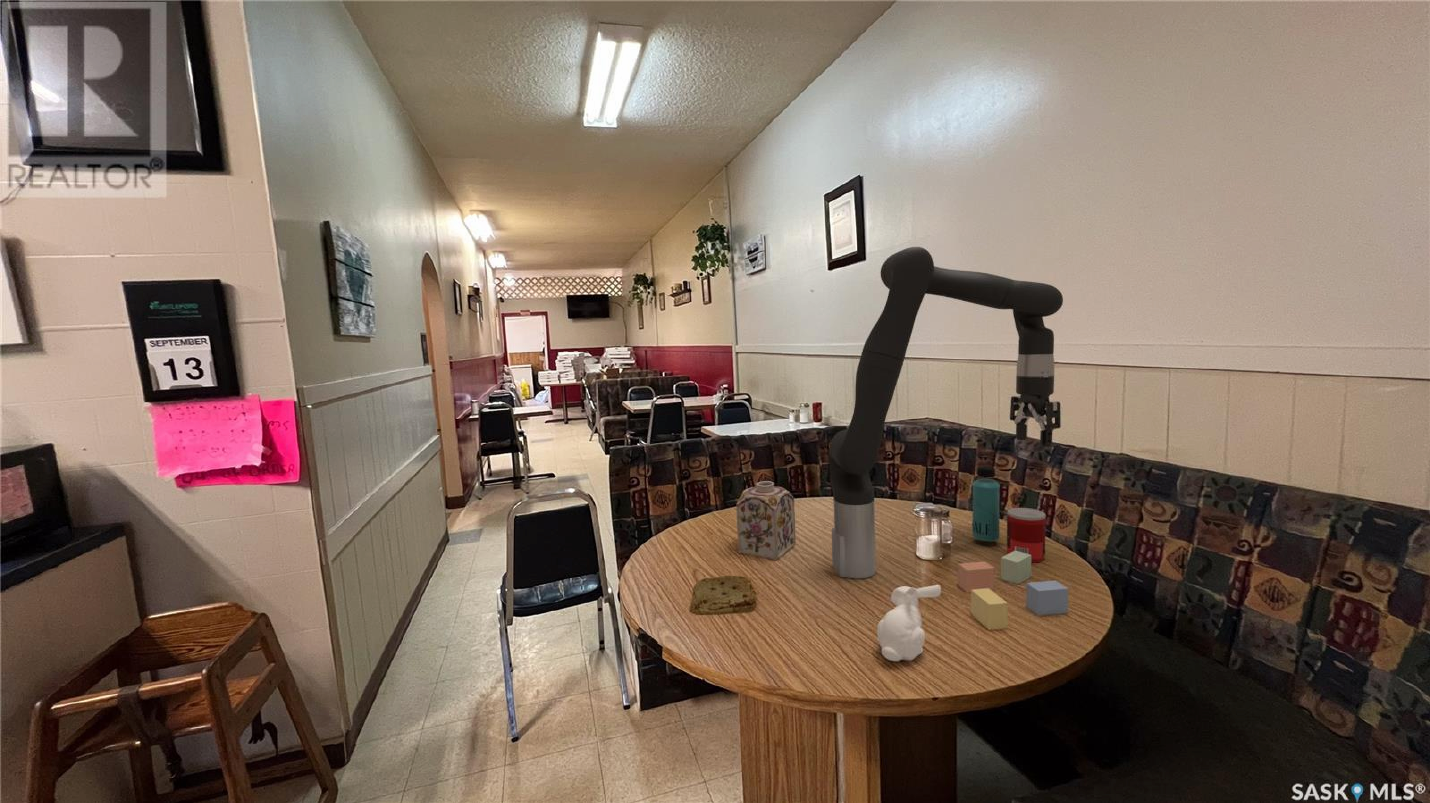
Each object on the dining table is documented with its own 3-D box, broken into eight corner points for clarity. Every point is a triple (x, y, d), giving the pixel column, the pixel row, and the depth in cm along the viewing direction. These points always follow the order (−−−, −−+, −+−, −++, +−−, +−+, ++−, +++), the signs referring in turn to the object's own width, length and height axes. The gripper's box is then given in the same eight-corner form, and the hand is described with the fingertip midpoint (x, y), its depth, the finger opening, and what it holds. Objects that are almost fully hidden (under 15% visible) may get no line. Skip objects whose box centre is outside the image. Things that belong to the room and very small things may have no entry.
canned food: (1052, 562, 126) (1052, 516, 124) (1017, 563, 126) (1017, 518, 125) (1033, 549, 133) (1034, 506, 132) (1000, 551, 133) (1001, 508, 132)
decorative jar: (797, 545, 144) (794, 479, 142) (778, 561, 134) (775, 491, 132) (757, 538, 150) (754, 475, 148) (736, 553, 141) (733, 486, 139)
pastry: (722, 575, 129) (722, 563, 128) (779, 597, 116) (779, 584, 116) (667, 602, 117) (666, 589, 116) (723, 629, 104) (723, 615, 104)
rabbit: (892, 628, 101) (892, 567, 100) (945, 643, 95) (945, 579, 94) (867, 660, 92) (866, 593, 90) (924, 679, 86) (923, 608, 84)
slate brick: (1038, 615, 103) (1038, 590, 102) (1026, 606, 106) (1026, 582, 106) (1067, 613, 103) (1068, 588, 103) (1055, 604, 107) (1055, 580, 106)
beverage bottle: (997, 538, 141) (998, 464, 139) (1002, 548, 135) (1002, 470, 133) (970, 537, 143) (970, 463, 141) (973, 546, 137) (973, 469, 135)
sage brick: (1017, 584, 116) (1017, 562, 115) (1001, 579, 119) (1001, 557, 118) (1031, 576, 119) (1031, 554, 119) (1015, 571, 122) (1015, 550, 122)
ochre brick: (1007, 628, 99) (1007, 602, 99) (989, 630, 99) (989, 604, 98) (988, 612, 105) (988, 588, 105) (971, 613, 105) (971, 589, 104)
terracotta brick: (966, 592, 113) (966, 570, 113) (958, 585, 117) (958, 563, 116) (994, 590, 114) (994, 568, 113) (984, 583, 117) (984, 561, 117)
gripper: (1000, 372, 131) (999, 438, 133) (1040, 376, 117) (1038, 449, 119) (1030, 371, 131) (1028, 437, 133) (1073, 374, 117) (1070, 448, 119)
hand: (1033, 442), depth 126 cm, fingers open, 8 cm apart
